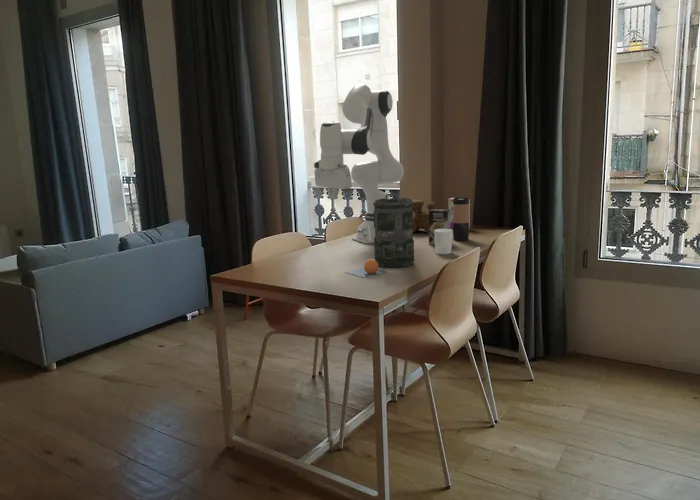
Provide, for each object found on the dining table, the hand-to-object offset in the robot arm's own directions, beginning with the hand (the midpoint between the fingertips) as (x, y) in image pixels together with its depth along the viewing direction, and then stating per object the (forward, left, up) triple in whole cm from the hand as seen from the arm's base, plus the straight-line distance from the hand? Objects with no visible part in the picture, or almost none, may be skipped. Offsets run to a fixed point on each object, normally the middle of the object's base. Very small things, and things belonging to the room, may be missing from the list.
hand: (333, 199), depth 212 cm
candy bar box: (-18, +96, -27) cm, 101 cm away
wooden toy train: (-27, +77, -27) cm, 86 cm away
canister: (+16, +17, -27) cm, 36 cm away
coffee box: (+2, +59, -27) cm, 65 cm away
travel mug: (+3, +73, -27) cm, 78 cm away
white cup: (+17, +45, -27) cm, 55 cm away
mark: (+19, 0, -27) cm, 33 cm away
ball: (+22, 0, -24) cm, 33 cm away
